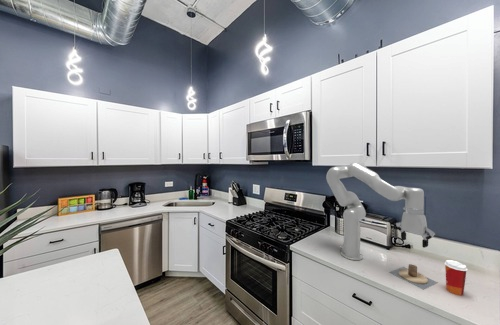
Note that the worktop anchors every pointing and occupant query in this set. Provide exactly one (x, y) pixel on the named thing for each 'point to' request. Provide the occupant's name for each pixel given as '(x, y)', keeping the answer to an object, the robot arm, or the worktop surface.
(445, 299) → the worktop surface
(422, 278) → the oak lid
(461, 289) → the paper cup
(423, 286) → the grey mat
